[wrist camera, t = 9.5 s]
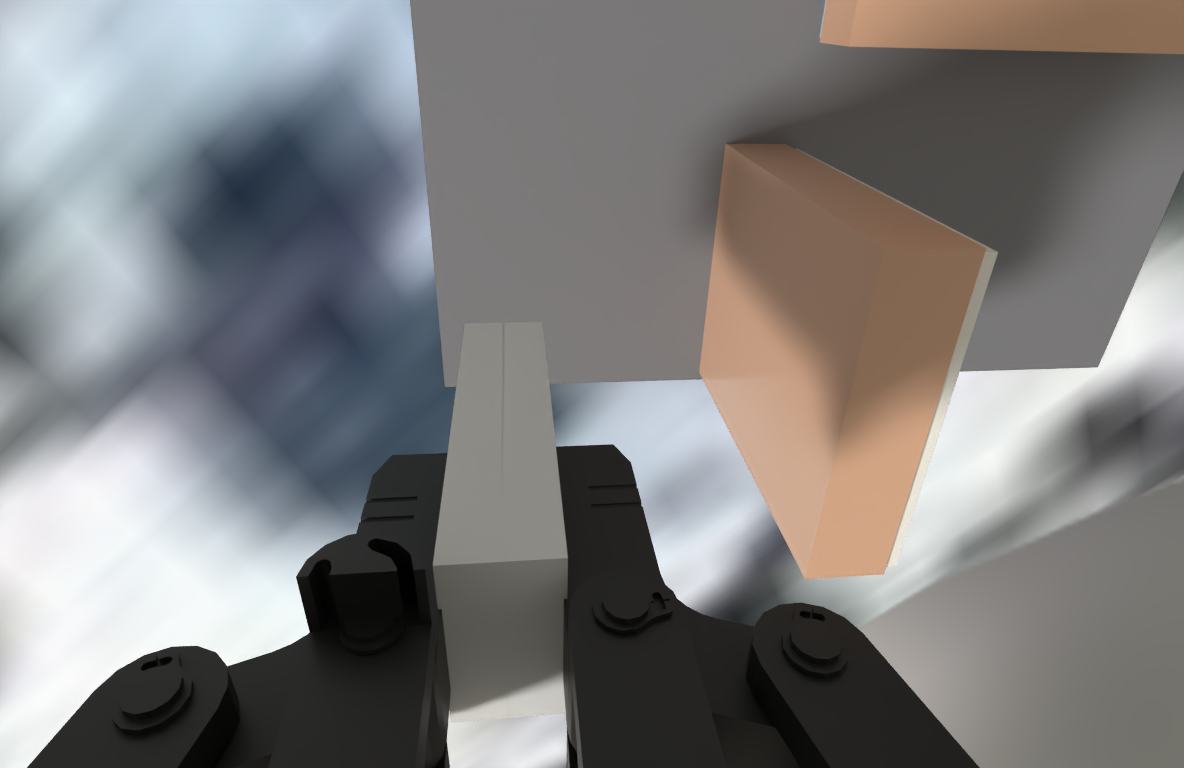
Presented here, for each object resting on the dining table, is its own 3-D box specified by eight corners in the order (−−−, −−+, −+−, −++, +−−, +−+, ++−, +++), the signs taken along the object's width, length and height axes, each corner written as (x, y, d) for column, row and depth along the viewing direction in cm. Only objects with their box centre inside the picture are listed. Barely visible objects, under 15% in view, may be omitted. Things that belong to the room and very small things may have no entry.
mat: (377, -390, 13) (373, -401, 13) (1372, -304, 16) (1392, -311, 15) (446, 380, 22) (445, 386, 21) (1089, 361, 24) (1097, 367, 24)
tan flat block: (725, 143, 18) (884, 248, 11) (796, 144, 19) (1003, 248, 11) (699, 372, 22) (805, 578, 14) (759, 370, 22) (897, 573, 14)
